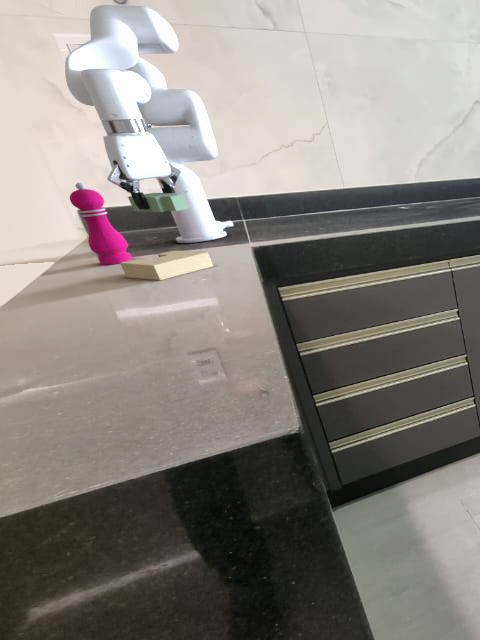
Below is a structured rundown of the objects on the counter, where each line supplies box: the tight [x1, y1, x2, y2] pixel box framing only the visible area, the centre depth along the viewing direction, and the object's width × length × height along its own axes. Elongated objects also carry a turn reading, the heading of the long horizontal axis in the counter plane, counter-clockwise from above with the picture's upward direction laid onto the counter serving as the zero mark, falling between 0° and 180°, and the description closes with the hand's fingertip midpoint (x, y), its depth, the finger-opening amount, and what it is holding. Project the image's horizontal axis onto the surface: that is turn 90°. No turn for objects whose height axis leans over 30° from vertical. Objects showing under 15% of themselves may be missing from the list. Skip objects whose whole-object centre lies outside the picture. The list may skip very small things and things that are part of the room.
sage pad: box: [127, 192, 189, 213], centre depth 131 cm, size 6×13×4 cm, turn 71°
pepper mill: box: [69, 182, 133, 266], centre depth 135 cm, size 7×7×20 cm
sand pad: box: [119, 249, 214, 281], centre depth 126 cm, size 12×12×4 cm
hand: (159, 206), depth 132 cm, fingers closed on sage pad, 6 cm apart
